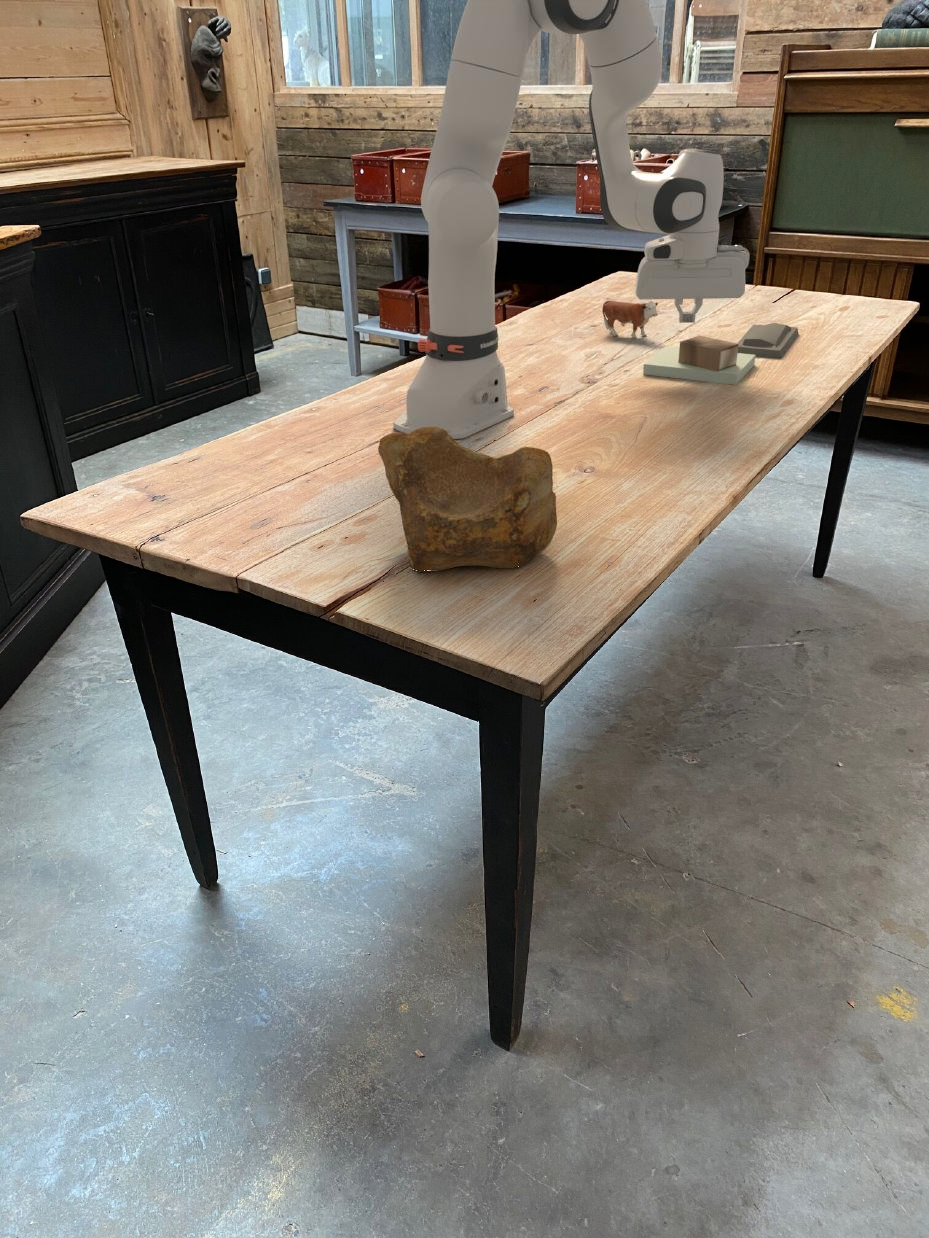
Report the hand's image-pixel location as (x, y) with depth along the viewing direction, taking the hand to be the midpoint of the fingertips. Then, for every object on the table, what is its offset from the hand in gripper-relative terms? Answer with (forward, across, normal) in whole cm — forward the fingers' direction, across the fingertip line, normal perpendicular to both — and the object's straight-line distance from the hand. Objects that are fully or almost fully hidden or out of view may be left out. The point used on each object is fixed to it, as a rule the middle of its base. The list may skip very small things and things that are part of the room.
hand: (686, 322), depth 180 cm
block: (+5, -1, +1) cm, 5 cm away
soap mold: (+10, -19, -17) cm, 27 cm away
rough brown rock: (+9, +36, +83) cm, 91 cm away
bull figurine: (+9, +9, -24) cm, 27 cm away
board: (+9, -3, +1) cm, 9 cm away
